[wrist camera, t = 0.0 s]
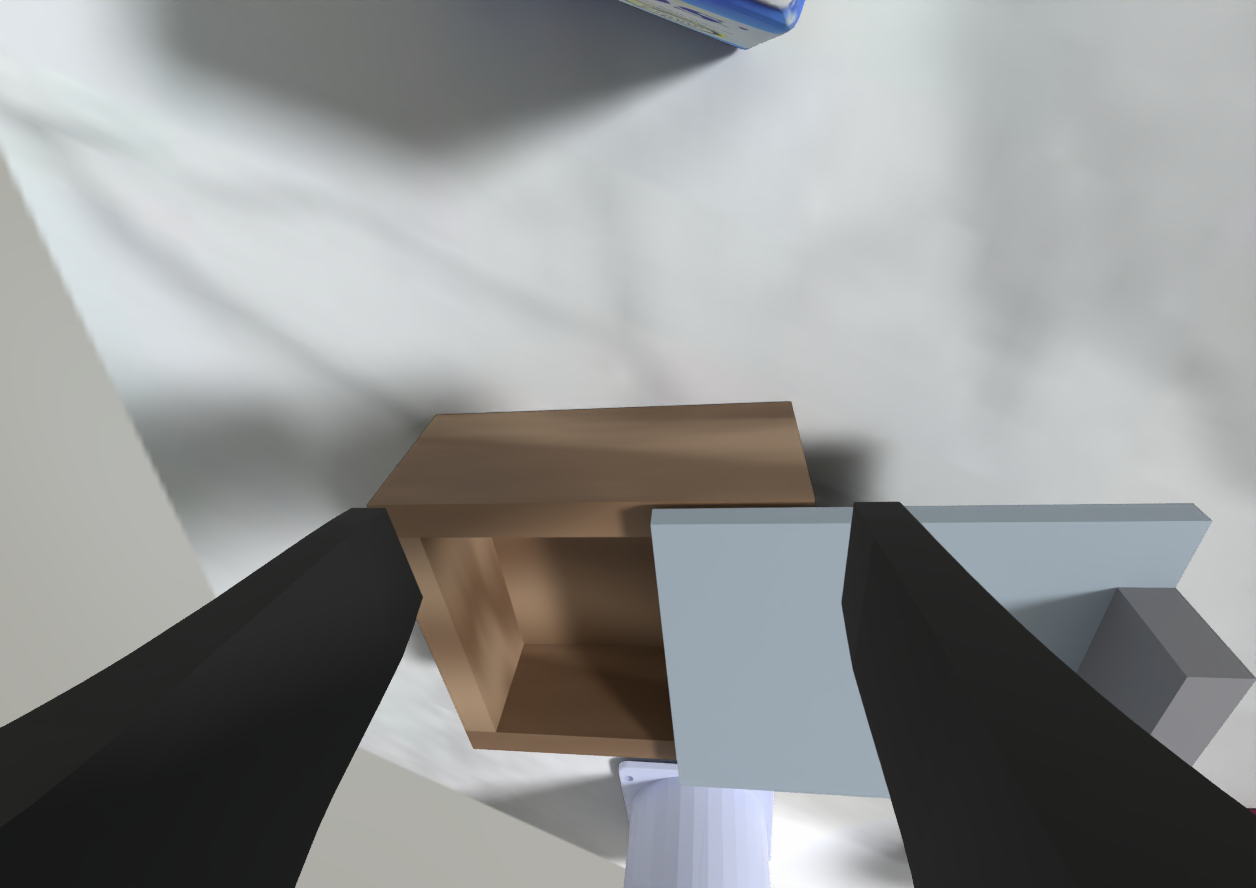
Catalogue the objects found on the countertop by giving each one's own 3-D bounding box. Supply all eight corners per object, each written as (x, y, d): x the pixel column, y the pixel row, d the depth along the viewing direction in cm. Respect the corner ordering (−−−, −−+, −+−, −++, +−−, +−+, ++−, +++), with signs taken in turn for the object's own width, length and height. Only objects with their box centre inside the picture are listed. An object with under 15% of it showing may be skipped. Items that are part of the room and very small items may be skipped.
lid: (1044, 789, 19) (1094, 896, 17) (680, 768, 21) (676, 862, 19) (1193, 503, 13) (1308, 608, 10) (652, 509, 15) (641, 599, 12)
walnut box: (779, 648, 25) (793, 766, 21) (509, 642, 27) (473, 748, 23) (791, 401, 19) (815, 499, 14) (436, 415, 20) (366, 504, 16)
